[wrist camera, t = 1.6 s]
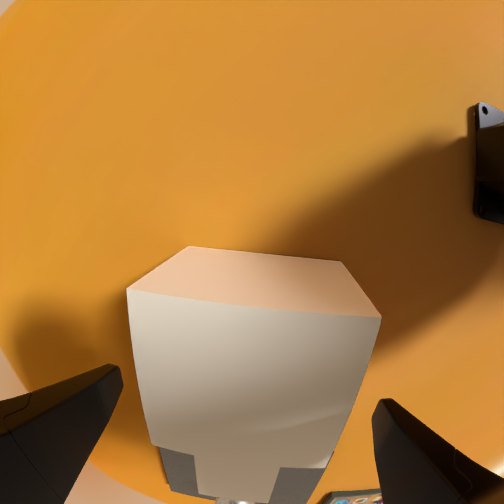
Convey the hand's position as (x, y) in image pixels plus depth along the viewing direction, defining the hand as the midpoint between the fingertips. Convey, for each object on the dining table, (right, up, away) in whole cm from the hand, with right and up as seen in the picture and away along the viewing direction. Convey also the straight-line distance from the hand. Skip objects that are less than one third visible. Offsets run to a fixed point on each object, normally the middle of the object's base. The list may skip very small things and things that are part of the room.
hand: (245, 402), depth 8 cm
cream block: (0, -1, +6) cm, 6 cm away
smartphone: (+14, -21, +10) cm, 28 cm away
